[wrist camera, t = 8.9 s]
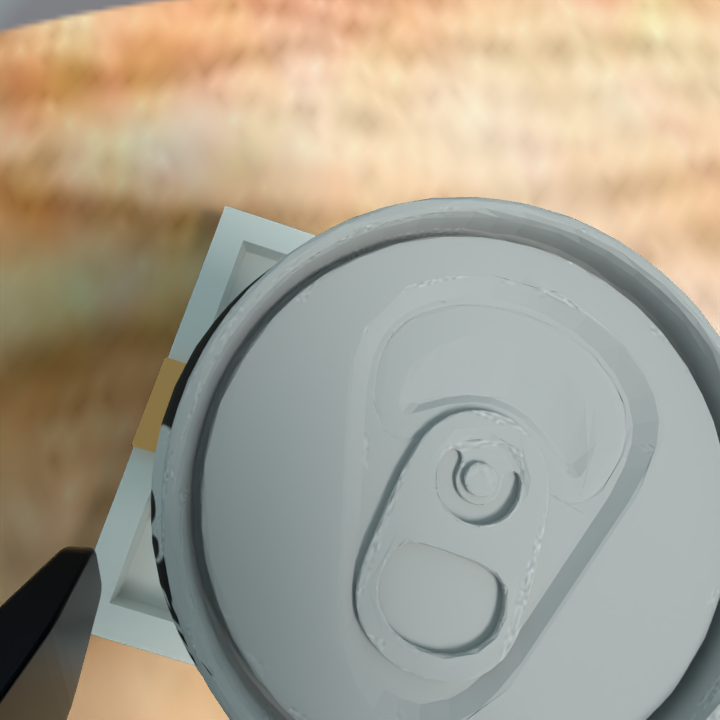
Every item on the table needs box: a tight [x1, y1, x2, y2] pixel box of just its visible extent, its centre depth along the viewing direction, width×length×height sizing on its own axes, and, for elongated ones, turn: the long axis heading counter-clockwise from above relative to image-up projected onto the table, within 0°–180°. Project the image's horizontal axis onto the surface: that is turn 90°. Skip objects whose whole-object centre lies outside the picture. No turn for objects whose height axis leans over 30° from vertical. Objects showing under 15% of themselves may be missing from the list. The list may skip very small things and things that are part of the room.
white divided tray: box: [91, 206, 316, 665], centre depth 17 cm, size 12×23×2 cm, turn 73°
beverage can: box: [151, 197, 720, 720], centre depth 11 cm, size 7×7×12 cm
